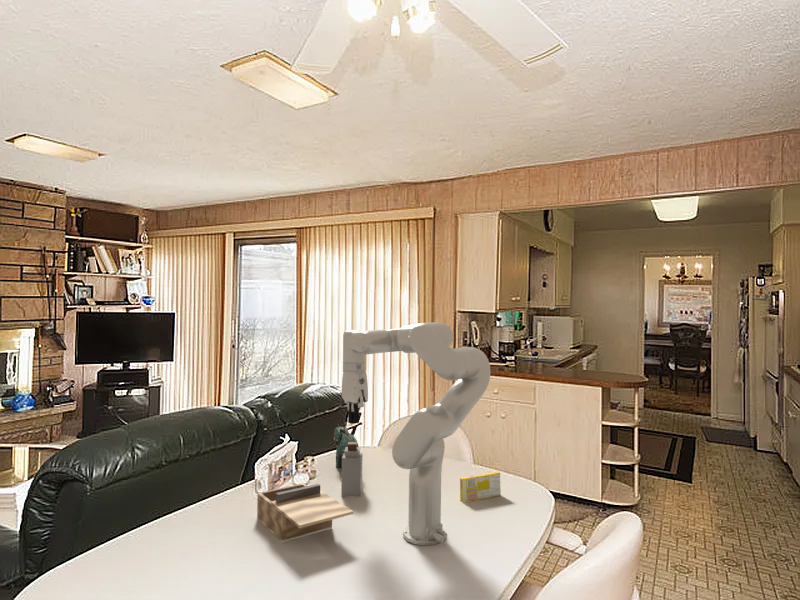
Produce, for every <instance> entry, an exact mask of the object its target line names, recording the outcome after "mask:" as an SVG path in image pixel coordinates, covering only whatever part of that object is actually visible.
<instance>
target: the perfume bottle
mask: <svg viewBox="0 0 800 600" xmlns="http://www.w3.org/2000/svg"><path fill="white" fill-rule="evenodd" d="M357 443H358V441H357V442H348V444H347V445H348V447H346V448H345V450H344V454H343V457H342V469H341V491H340V492H341V493H340V494H341V495H340V496H341V497H361V496H362V491H363V452H361V447H360V446H359V447H357ZM359 452H360V453H359Z"/></svg>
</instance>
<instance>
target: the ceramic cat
mask: <svg viewBox="0 0 800 600" xmlns="http://www.w3.org/2000/svg"><path fill="white" fill-rule="evenodd" d="M336 424H337V425H336V427H335V428H334V431H333V441H334V442H335V444H336V449H335V451H336V452H335V468H336V469H338V470H342V457H343V454H344V450H345V448H346V447H348V445H347V444H348V442H357V447H360V446H359V442H358V440H357V438H356V437H355V436H354V435H353V434H351V433H349V429H348V428H347V427H348V424H347V421H344V423H343V425H344V426H340V425H339V423H336ZM359 453H361V451H360V452H359Z"/></svg>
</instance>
